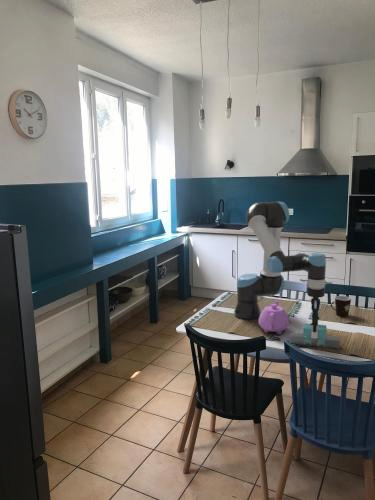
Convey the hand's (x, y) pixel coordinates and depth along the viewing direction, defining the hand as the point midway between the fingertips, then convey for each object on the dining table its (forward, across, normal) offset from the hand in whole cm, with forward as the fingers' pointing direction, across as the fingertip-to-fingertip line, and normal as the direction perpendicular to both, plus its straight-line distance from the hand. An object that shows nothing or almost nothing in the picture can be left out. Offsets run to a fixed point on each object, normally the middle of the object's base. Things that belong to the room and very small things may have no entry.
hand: (314, 335), depth 180 cm
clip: (+3, 0, 0) cm, 3 cm away
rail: (+5, 0, 0) cm, 5 cm away
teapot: (+5, +14, +20) cm, 25 cm away
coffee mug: (+5, +45, -13) cm, 47 cm away
